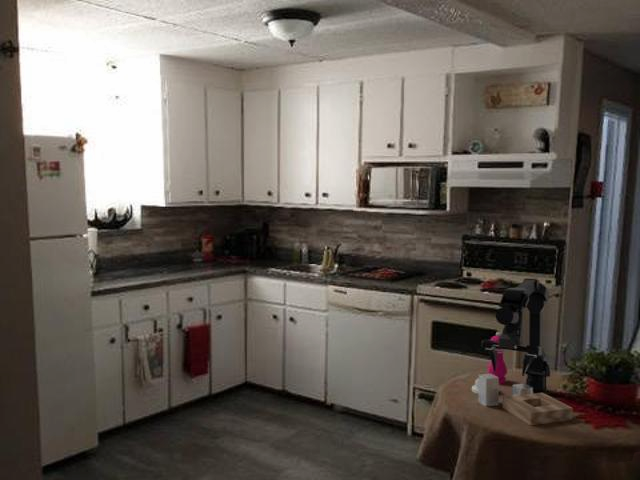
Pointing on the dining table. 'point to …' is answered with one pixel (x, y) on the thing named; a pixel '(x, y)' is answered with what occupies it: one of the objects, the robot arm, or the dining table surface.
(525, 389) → the grey cube
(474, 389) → the mechanical component
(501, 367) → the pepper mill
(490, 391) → the grey tall rectangular block
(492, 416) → the dining table surface
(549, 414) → the hole block
